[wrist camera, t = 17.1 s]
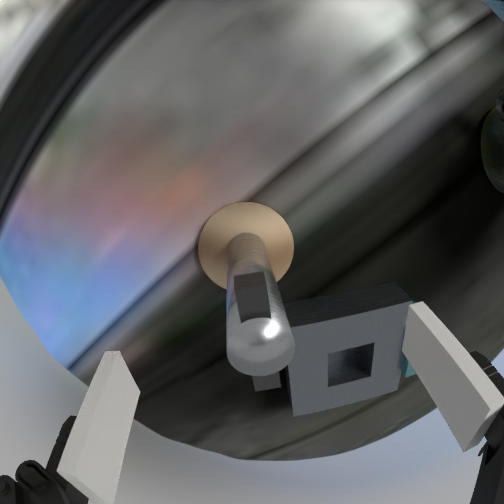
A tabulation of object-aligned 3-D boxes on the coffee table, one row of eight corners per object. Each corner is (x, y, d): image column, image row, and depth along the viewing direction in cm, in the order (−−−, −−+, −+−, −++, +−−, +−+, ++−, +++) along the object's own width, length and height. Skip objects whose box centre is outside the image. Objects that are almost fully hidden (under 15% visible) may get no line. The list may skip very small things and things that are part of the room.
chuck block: (277, 304, 29) (285, 335, 24) (418, 275, 29) (443, 298, 25) (287, 390, 33) (294, 423, 29) (405, 361, 34) (423, 387, 29)
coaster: (190, 210, 25) (189, 212, 25) (287, 194, 25) (288, 196, 25) (208, 296, 28) (208, 299, 28) (296, 281, 28) (297, 284, 28)
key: (233, 287, 27) (239, 400, 15) (220, 217, 25) (213, 298, 13) (270, 281, 27) (299, 390, 15) (260, 210, 25) (289, 286, 13)
